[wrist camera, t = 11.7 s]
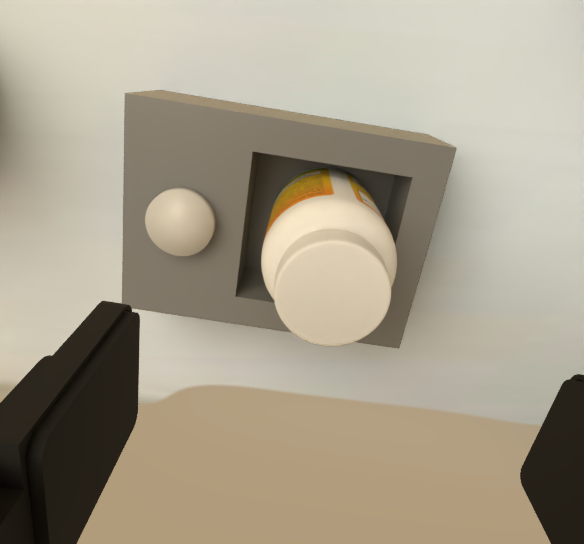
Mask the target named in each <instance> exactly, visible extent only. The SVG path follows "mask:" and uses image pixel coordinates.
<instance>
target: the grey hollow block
mask: <svg viewBox="0 0 584 544" xmlns="http://www.w3.org/2000/svg"><path fill="white" fill-rule="evenodd" d="M455 152H456V147H454V146H451V145H449V144H447V143H445V142H443V141H441V140H439V139H436V138H434V137H432V136H430V135H428V134H422V133H416V132H410V131H404V130H398V129H392V128H386V127H380V126H374V125H367V124H361V123H355V122H349V121H343V120H337V119H331V118H325V117H319V116H313V115H307V114H301V113H295V112H289V111H283V110H277V109H271V108H265V107H259V106H253V105H247V104H241V103H235V102H229V101H223V100H217V99H211V98H205V97H199V96H193V95H187V94H181V93H175V92H169V91H163V90H156V91H144V92H132V93H125V118H124V195H123V272H122V304H127V305H130V306H131V308H133V309H140V310H147V311H153V312H160V313H166V314H173V315H180V316H186V317H193V318H200V319H206V320H213V321H220V322H226V323H233V324H240V325H246V326H253V327H259V328H266V329H273V330H279V331H286V332H291V331H290V330H289V329H288V328H287V327H286V325H285V324H284V323H283V321H282V320H281V318H280V316H279V315H278V312H277V310H276V306H275V302H274V299H273V298H272V297H271V295H270V293H269V292H268V290H267V288H266V285H265V282H264V278H263V274H262V268H261V256H262V247H263V243H264V238H265V234H266V230H267V227H268V223H269V220H270V216H271V211H272V208H273V205H274V202H275V200H276V197H277V195H278V193H279V192H280V190H281V189H282V187H283V186H284V185H285V184H286V183H287V182H288V181H289V180H290V179H291V178H293V177H294V176H296V175H297V174H299V173H301V172H304V171H306V170H309V169H313V168H320V167H329V168H336V169H340V170H342V171H345V172H347V173H349V174H351V175H352V176H354V177H355V178H357V179H358V180H359V181H360V182H361V183H362V184H363V185H364V187H365V188H366V189H367V191H368V192H369V194H370V195H371V197H372V199H373V201H374V203H375V205H376V206H377V208H378V210H379V211H380V214H381V216H382V217H383V219H384V221H385V223H386V225H387V226H388V228H389V230H390V232H391V234H392V237H393V240H394V243H395V247H396V253H397V270H396V275H395V279H394V282H393V285H392V287H391V300H390V305H389V308H388V311H387V313H386V315H385V317H384V319H383V320H382V321H381V323H380V324H379V325H378V326H377V327H376V329H374V330H373V331H372V332H371V333H370V334H368V335H367V336H365V337H363V338H362V339H360V340H358V341H355V342H359V343H366V344H372V345H379V346H386V347H392V348H399V347H400V344H401V340H402V337H403V333H404V330H405V326H406V323H407V319H408V316H409V312H410V309H411V305H412V302H413V298H414V295H415V292H416V288H417V285H418V281H419V278H420V274H421V271H422V267H423V264H424V260H425V257H426V253H427V250H428V246H429V243H430V239H431V236H432V232H433V229H434V225H435V222H436V218H437V215H438V211H439V208H440V204H441V201H442V197H443V194H444V190H445V187H446V183H447V180H448V176H449V173H450V170H451V166H452V163H453V159H454V155H455Z"/></svg>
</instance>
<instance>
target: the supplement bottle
mask: <svg viewBox="0 0 584 544" xmlns="http://www.w3.org/2000/svg"><path fill="white" fill-rule="evenodd" d="M261 268H262V274H263V278H264V282H265V285H266V288H267V290H268V292H269V293H270V295H271V297H272V298H273V299H274V302H275V306H276V310H277V312H278V315H279V316H280V318H281V320H282V321H283V323H284V324H285V325H286V327H287V328H288V329H289V330H290V331H291V332H293V333H294V334H295V335H296V336H298V337H300V338H302V339H303V340H305V341H308V342H310V343H314V344H317V345H323V346H340V345H346V344H350V343H353V342H355V341H358V340H360V339H362V338H363V337H365V336H367V335H368V334H370V333H371V332H372V331H373V330H374V329H376V327H377V326H378V325H379V324H380V323H381V321H382V320H383V319H384V317H385V315H386V313H387V311H388V308H389V305H390V300H391V287H392V285H393V282H394V279H395V275H396V270H397V253H396V247H395V243H394V240H393V237H392V234H391V232H390V230H389V228H388V226H387V225H386V223H385V221H384V219H383V217H382V216H381V214H380V211H379V210H378V208H377V206H376V205H375V203H374V201H373V199H372V197H371V195H370V194H369V192H368V191H367V189H366V188H365V187H364V185H363V184H362V183H361V182H360V181H359V180H358V179H357V178H355V177H354V176H352V175H351V174H349V173H347V172H345V171H342V170H340V169H336V168H329V167H320V168H313V169H309V170H306V171H304V172H301V173H299V174H297V175H296V176H294V177H293V178H291V179H290V180H289V181H288V182H287V183H286V184H285V185H284V186H283V187H282V189H281V190H280V192H279V193H278V195H277V197H276V200H275V202H274V205H273V208H272V211H271V216H270V220H269V223H268V227H267V230H266V234H265V238H264V243H263V247H262V256H261Z"/></svg>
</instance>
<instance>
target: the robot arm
mask: <svg viewBox="0 0 584 544" xmlns="http://www.w3.org/2000/svg"><path fill="white" fill-rule="evenodd" d="M139 329H140V317H139V314H138V313H135V312H132V309H131V306H130V305H127V304H120V303H114V302H108V301H102V302H101V303H99V304H98V306H97V307H96V308H95V309H94V310H93V311H92V312H91V313H90V314H89V316H88V317H87V318H86V319H85V320H84V321H83V322H82V323H81V325H80V326H79V327H78V328H77V329H76V330H75V331H74V332H73V333H72V335H71V336H70V337H69V338H68V339H67V340H66V341H65V342H64V344H63V345H62V346H61V347H60V348H59V349H58V350H57V351H56V352H55V354H54V355H53V356H50V355H49V356H46V357H44V358H42V359H41V360H40V361H39V362H38V363H37V364H36V365H35V366H34V367H33V368H32V369H31V371H30V372H29V373H28V374H27V375H26V376H25V377H24V378H23V379H22V380H21V381H20V382H19V384H18V385H17V386H16V387H15V388H14V389H13V390H12V391H11V392H10V393H9V394H8V395H7V397H6V398H5V399H4V400H3V401H2V402H1V403H0V544H77V541H78V539H79V537H80V535H81V533H82V531H83V529H84V527H85V525H86V523H87V521H88V519H89V517H90V515H91V513H92V511H93V509H94V507H95V505H96V503H97V501H98V499H99V497H100V495H101V493H102V491H103V489H104V487H105V485H106V483H107V481H108V478H109V476H110V475H111V473H112V471H113V469H114V466H115V465H116V463H117V461H118V458H119V456H120V454H121V452H122V450H123V448H124V446H125V444H126V442H127V440H128V438H129V436H130V434H131V432H132V430H133V428H134V425H135V422H136V419H137V413H138V377H139ZM520 477H521V478H520V479H521V483H522V486H523V488H524V490H525V492H526V494H527V496H528V498H529V500H530V502H531V504H532V506H533V508H534V510H535V512H536V514H537V516H538V518H539V520H540V522H541V524H542V526H543V528H544V530H545V532H546V534H547V536H548V538H549V540H550V542H551V544H584V375H580V374H578V375H574V376H573V377H572V378H571V379H569V380H566V381H565V382H564V383H563V384H562V386H561V388H560V390H559V392H558V394H557V396H556V398H555V400H554V402H553V404H552V406H551V408H550V410H549V412H548V414H547V417H546V419H545V421H544V423H543V425H542V427H541V429H540V431H539V433H538V435H537V437H536V439H535V441H534V443H533V445H532V447H531V450H530V451H529V453H528V456H527V457H526V460H525V462H524V464H523V466H522V468H521V473H520Z"/></svg>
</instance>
